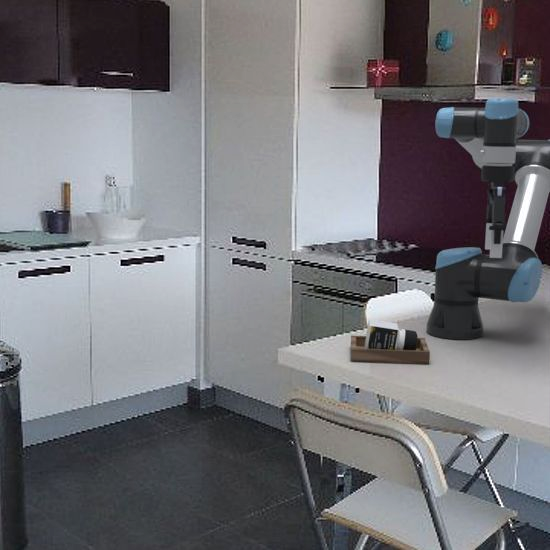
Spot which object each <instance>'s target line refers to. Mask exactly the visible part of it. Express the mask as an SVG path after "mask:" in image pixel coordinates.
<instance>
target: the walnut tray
mask: <svg viewBox="0 0 550 550" xmlns="http://www.w3.org/2000/svg"><path fill="white" fill-rule="evenodd" d="M365 340H366V335H350V362H351V363H376V364H377V363H378V364H379V363H380V364H403V365H405V364H406V365H430V361H431V360H430V358H431V357H430V355H431V353H430V352H431V351H430V349H429V346H428V343H427V340H426V338H425V337H418V339H417V347H416V350H390V349H365Z"/></svg>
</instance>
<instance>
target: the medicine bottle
mask: <svg viewBox="0 0 550 550" xmlns="http://www.w3.org/2000/svg"><path fill="white" fill-rule="evenodd" d="M367 323H368V324H367V328H366V329H367V330H366V335H365V336H366V340H365V349H390V350H416V347H417V339H418V338H419V336H418V333H417V331H416V330H410V329H403V328H401V329H400V328H399V324H398V323H396V322H392V321H391V322H390V321H383V320H376V319H371V318H370V319H368V322H367Z"/></svg>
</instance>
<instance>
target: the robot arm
mask: <svg viewBox="0 0 550 550" xmlns="http://www.w3.org/2000/svg"><path fill="white" fill-rule="evenodd" d="M434 127H435V132H436V135H437V136H438V137H439V138H446V139H455V141H456V142H458V144H459V145H461V147H462V148H464V149H465V150H466V151H467V153H469V154H470V155H471V157H472V160H473V162H474V164H475V165H476V166H477V167H478V168H479V169H481V174H480V175H481V176H480V179H481V181H483V182H488V183H489V184H488V188H487V190H486V191H487V192H486V193H487V206H486V207H487V208H486V215H485V219H486V224H485V240H484V241H485V242H484V249H485V250H489V254H484V253H483V251H482V249H481V247H475V246H473V247H471V246H470V247H456V248H455V247H454V248H449V249H443V250H441V251H439V252H438V254H437V255H436V262H435V263H436V264H435V267H434V269H435V273H434V274H435V279H434V302H433V306H432V308H431V312H430V314H429V317H428V319H427V322H426V328H425V329H426V333H427V334H429V335H431V336H433V337H436V338H442V339H446V340H447V339H448V340H473V339H475V340H476V339H479V338H482V337H483V336H484V323H483V320H482V317H481V312H480V309H479V299H487V300H496V301H506V302H511V303H528V302H531V301H532V300H533V299H534V297H535V296H536V294H537V292H538V289H539V287H540V285H541V277H542V276H543V275H542V273H543V266H542V265H543V263H542V261H541V260H540V259H539V256H538V254H537V253H536V251H535V249H536V244H537V241H538V236H539V233H540V229H541V226H542V221H543V217H544V213H545V211H546V205H547V202H548V198H549V193H550V139H547V140H545V139H544V140H543V139H520V138H521V137H523V136H524V135H525V134H526V133H527V132H528V130H529V127H530V119H529V116H528V114H527V113H526V112H525V111H524V110H522V109H521V108H519V100H518V99H516V98H506V97H505V98H504V97H501V98H499V97H498V98H497V97H495V98H491V97H490V98H488V99H487V100H486V102H485V107H455V106H451V107H442V108H440V109H439V110H438V111H437V114H436V117H435V126H434ZM514 181H515V183H516V185H517V188H516V191H515V195H514V199H513V202H512V206H511V209H510V213H509V217H508V220H507V224H506V222H505V221H506V219H505V217H506V214H505V213H506V211H505V210H506V209H505V208H506V205H505V204H506V196H507V195H506V194H507V190H506V187H505V186H504V183H511V182H514ZM504 230H505V231H504Z"/></svg>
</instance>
